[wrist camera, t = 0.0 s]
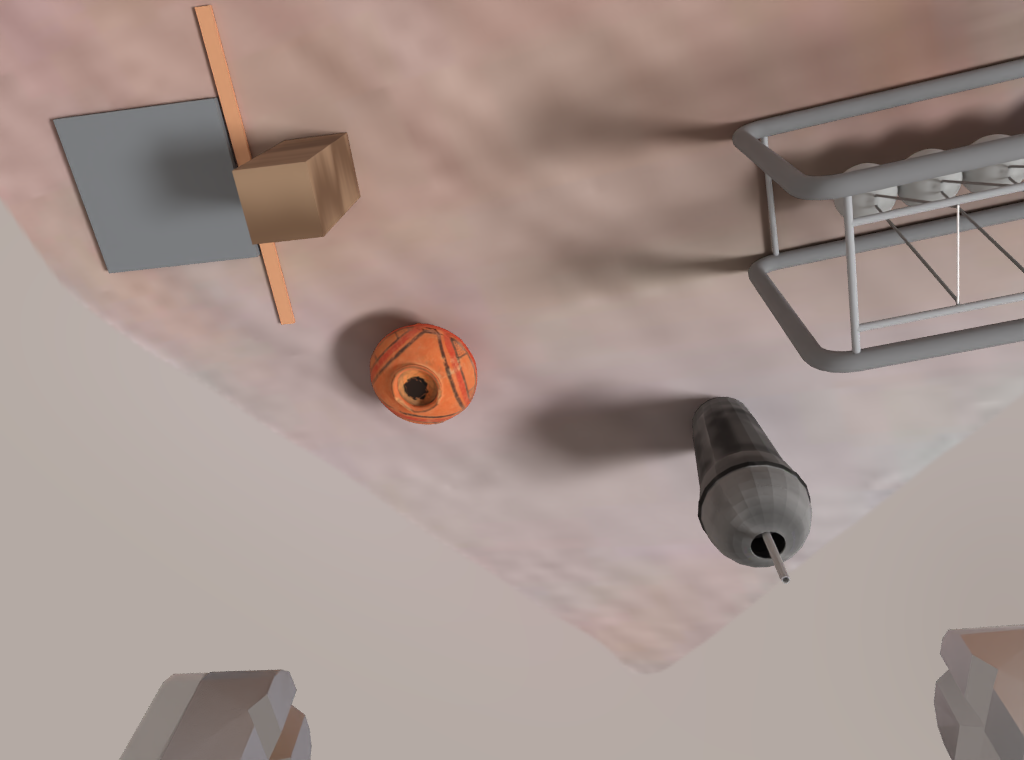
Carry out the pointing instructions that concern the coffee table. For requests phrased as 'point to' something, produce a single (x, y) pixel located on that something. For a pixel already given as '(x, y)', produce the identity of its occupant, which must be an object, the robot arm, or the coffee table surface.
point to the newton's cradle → (870, 198)
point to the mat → (158, 185)
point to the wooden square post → (297, 188)
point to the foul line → (240, 146)
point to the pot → (423, 373)
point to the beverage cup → (747, 489)
